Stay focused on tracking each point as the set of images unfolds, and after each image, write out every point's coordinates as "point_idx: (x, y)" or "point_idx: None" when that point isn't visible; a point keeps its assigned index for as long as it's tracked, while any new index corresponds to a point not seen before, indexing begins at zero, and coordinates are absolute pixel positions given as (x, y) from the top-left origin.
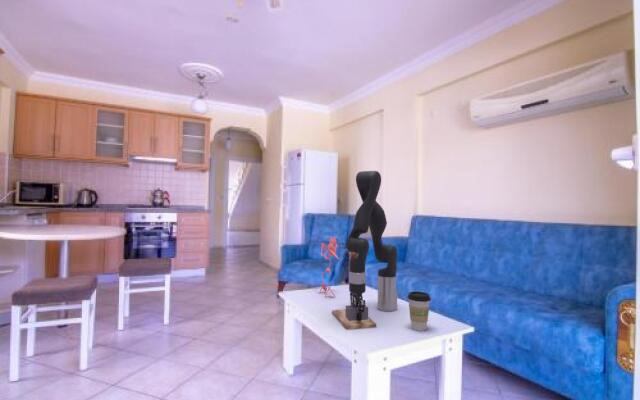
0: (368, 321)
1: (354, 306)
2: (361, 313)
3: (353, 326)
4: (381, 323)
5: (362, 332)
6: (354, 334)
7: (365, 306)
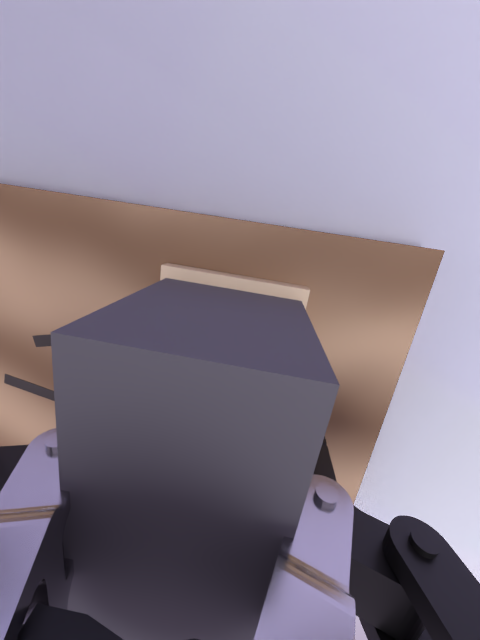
0: (320, 303)
1: (145, 586)
2: (338, 486)
3: (350, 494)
4: (344, 98)
5: (457, 451)
6: (453, 523)
7: (215, 398)
